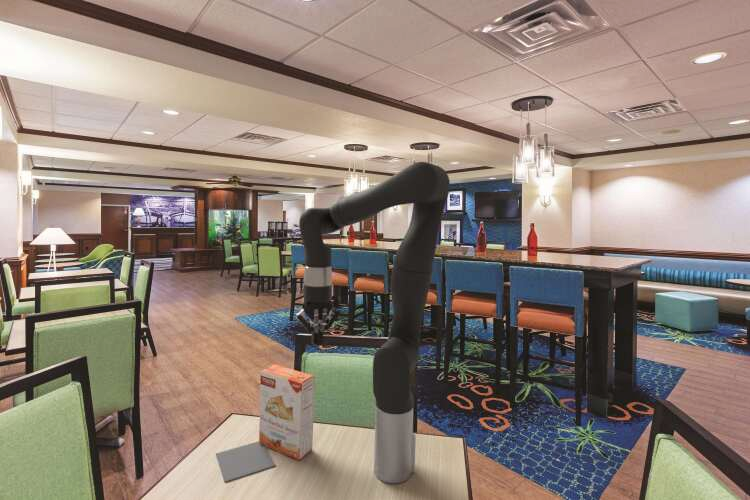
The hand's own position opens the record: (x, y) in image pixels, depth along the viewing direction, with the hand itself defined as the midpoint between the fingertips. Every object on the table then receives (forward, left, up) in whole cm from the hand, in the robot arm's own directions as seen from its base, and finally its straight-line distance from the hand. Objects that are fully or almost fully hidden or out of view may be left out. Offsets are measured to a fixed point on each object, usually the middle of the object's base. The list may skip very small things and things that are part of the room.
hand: (317, 344), depth 106 cm
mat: (+19, 0, -27) cm, 33 cm away
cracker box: (+9, 0, -27) cm, 29 cm away
